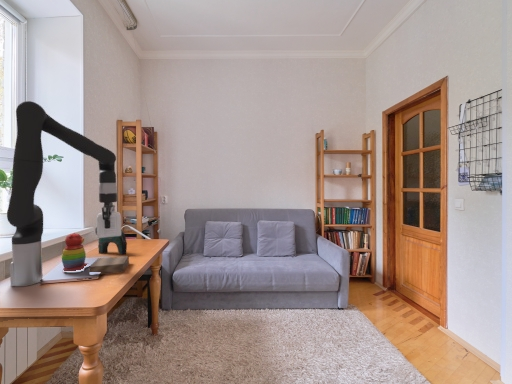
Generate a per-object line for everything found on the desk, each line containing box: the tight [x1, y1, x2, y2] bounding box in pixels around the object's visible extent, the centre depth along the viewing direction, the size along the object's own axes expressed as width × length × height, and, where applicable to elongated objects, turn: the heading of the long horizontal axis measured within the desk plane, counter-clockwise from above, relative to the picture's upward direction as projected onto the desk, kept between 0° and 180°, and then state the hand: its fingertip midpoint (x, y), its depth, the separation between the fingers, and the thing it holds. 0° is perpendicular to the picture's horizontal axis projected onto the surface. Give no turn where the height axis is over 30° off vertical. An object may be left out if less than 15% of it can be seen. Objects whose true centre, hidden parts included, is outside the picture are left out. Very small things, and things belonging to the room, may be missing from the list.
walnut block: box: [88, 255, 130, 275], centre depth 123 cm, size 14×14×4 cm
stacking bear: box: [61, 232, 89, 271], centre depth 122 cm, size 11×10×18 cm
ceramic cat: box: [94, 226, 128, 256], centre depth 151 cm, size 20×6×20 cm, turn 73°
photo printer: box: [96, 210, 122, 239], centre depth 122 cm, size 10×4×12 cm, turn 123°
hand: (109, 227), depth 122 cm, fingers closed on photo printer, 5 cm apart
